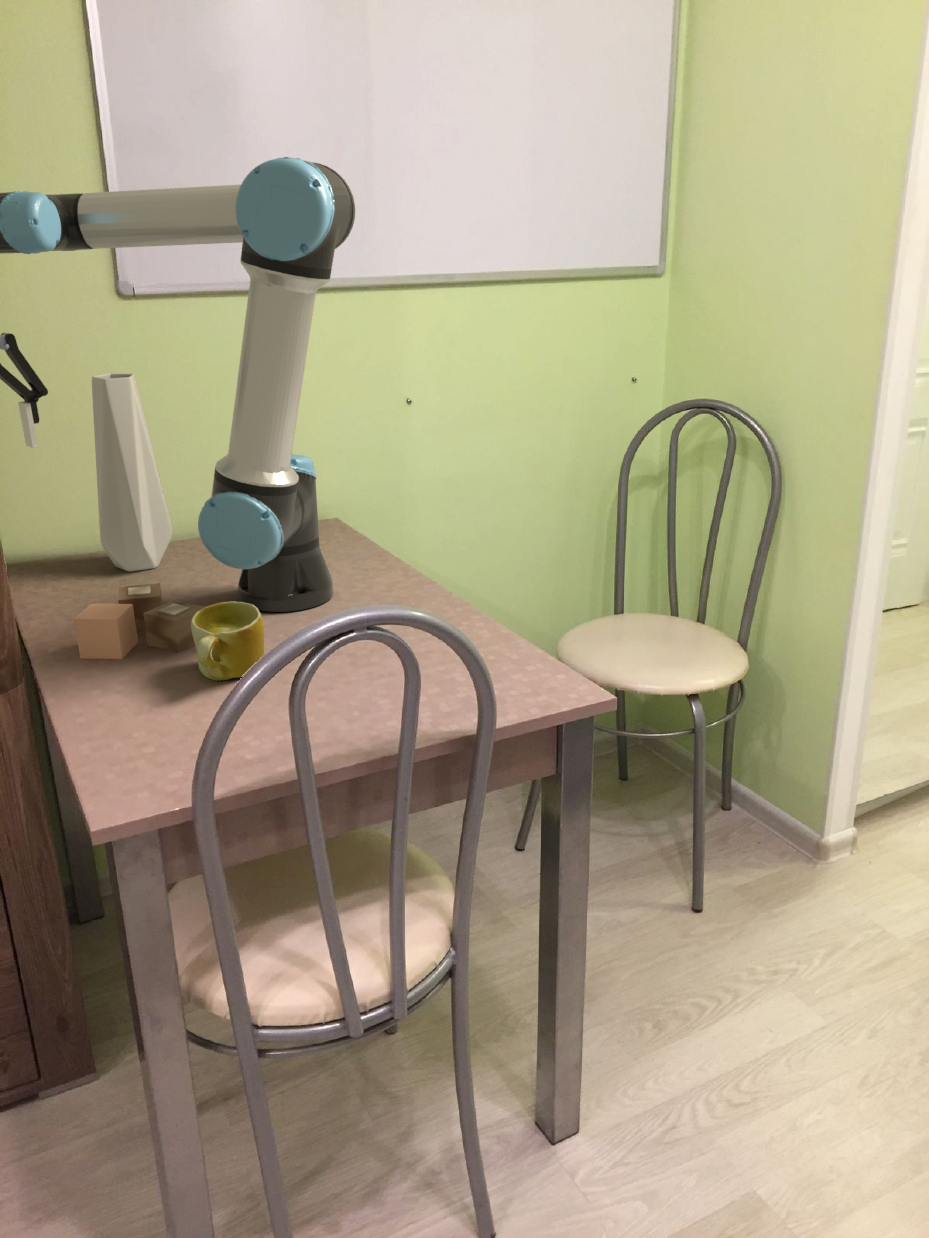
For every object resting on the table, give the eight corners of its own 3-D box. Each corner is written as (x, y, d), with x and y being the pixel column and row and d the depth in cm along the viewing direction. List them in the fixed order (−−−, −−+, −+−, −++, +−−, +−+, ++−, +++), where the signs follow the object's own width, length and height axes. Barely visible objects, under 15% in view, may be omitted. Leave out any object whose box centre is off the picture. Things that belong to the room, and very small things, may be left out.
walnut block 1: (163, 613, 157) (159, 581, 155) (164, 627, 152) (160, 594, 150) (123, 617, 156) (118, 585, 154) (122, 631, 150) (117, 598, 148)
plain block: (137, 642, 146) (132, 604, 144) (122, 659, 141) (116, 619, 138) (97, 642, 147) (91, 603, 144) (80, 658, 141) (74, 618, 139)
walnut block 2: (208, 638, 147) (204, 605, 146) (178, 653, 143) (174, 619, 141) (177, 631, 150) (173, 598, 148) (147, 645, 145) (143, 611, 143)
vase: (185, 555, 184) (164, 371, 172) (159, 575, 173) (135, 380, 161) (122, 553, 186) (97, 370, 174) (92, 573, 175) (63, 380, 163)
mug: (216, 634, 144) (220, 579, 137) (277, 664, 141) (284, 610, 135) (161, 682, 134) (162, 626, 128) (225, 715, 132) (230, 659, 126)
